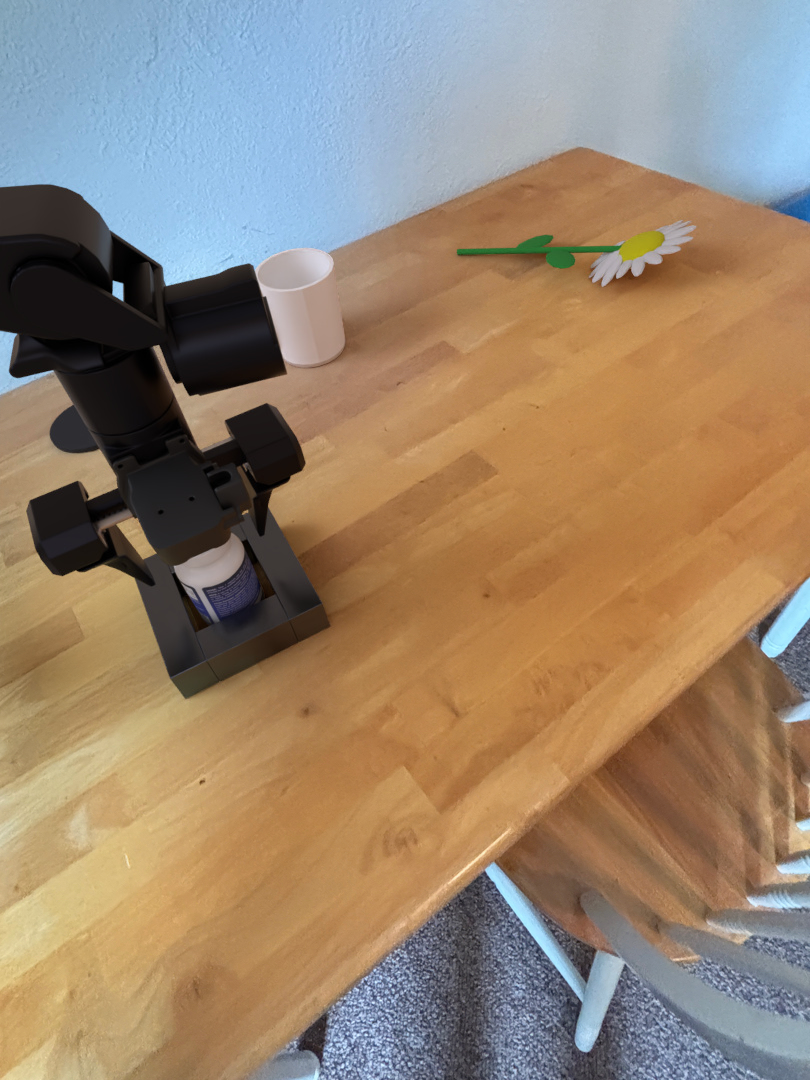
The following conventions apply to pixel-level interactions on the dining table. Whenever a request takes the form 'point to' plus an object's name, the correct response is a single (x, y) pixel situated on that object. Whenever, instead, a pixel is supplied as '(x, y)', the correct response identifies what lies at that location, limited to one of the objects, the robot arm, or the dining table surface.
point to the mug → (303, 305)
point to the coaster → (71, 433)
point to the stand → (243, 634)
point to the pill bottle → (221, 581)
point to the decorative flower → (605, 251)
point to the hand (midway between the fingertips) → (207, 557)
